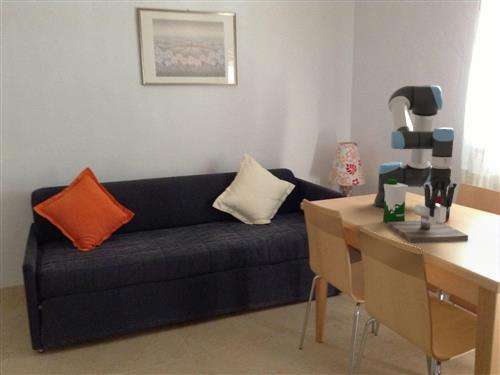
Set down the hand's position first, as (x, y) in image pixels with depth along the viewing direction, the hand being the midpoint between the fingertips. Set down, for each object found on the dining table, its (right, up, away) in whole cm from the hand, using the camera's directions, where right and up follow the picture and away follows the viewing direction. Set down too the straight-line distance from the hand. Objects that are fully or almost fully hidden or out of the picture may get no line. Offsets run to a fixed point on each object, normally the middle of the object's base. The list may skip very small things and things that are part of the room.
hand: (436, 224), depth 179 cm
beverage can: (+15, -1, +30) cm, 34 cm away
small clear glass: (-1, -3, +10) cm, 10 cm away
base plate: (-1, -5, +10) cm, 11 cm away
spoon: (-1, +3, +4) cm, 5 cm away
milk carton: (-9, -2, +27) cm, 28 cm away
